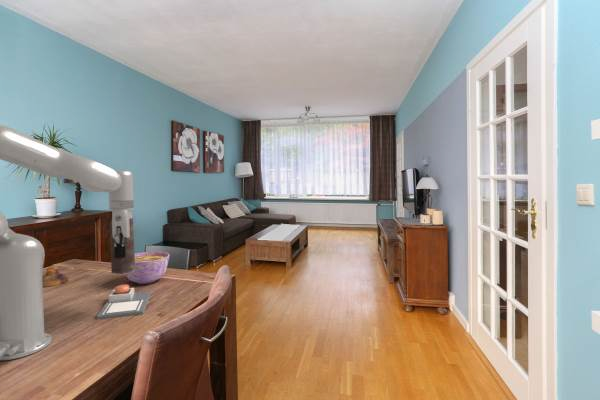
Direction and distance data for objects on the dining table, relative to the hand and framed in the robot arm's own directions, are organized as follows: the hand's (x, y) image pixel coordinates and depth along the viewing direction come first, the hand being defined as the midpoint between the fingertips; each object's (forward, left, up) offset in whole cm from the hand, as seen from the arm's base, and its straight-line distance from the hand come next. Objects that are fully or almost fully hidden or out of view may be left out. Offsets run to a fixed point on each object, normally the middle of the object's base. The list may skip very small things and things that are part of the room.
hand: (122, 254), depth 109 cm
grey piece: (+4, 0, -20) cm, 21 cm away
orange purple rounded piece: (+42, +37, -21) cm, 59 cm away
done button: (+10, +3, -17) cm, 20 cm away
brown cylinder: (0, 0, -7) cm, 7 cm away
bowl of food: (+32, -3, -20) cm, 38 cm away
